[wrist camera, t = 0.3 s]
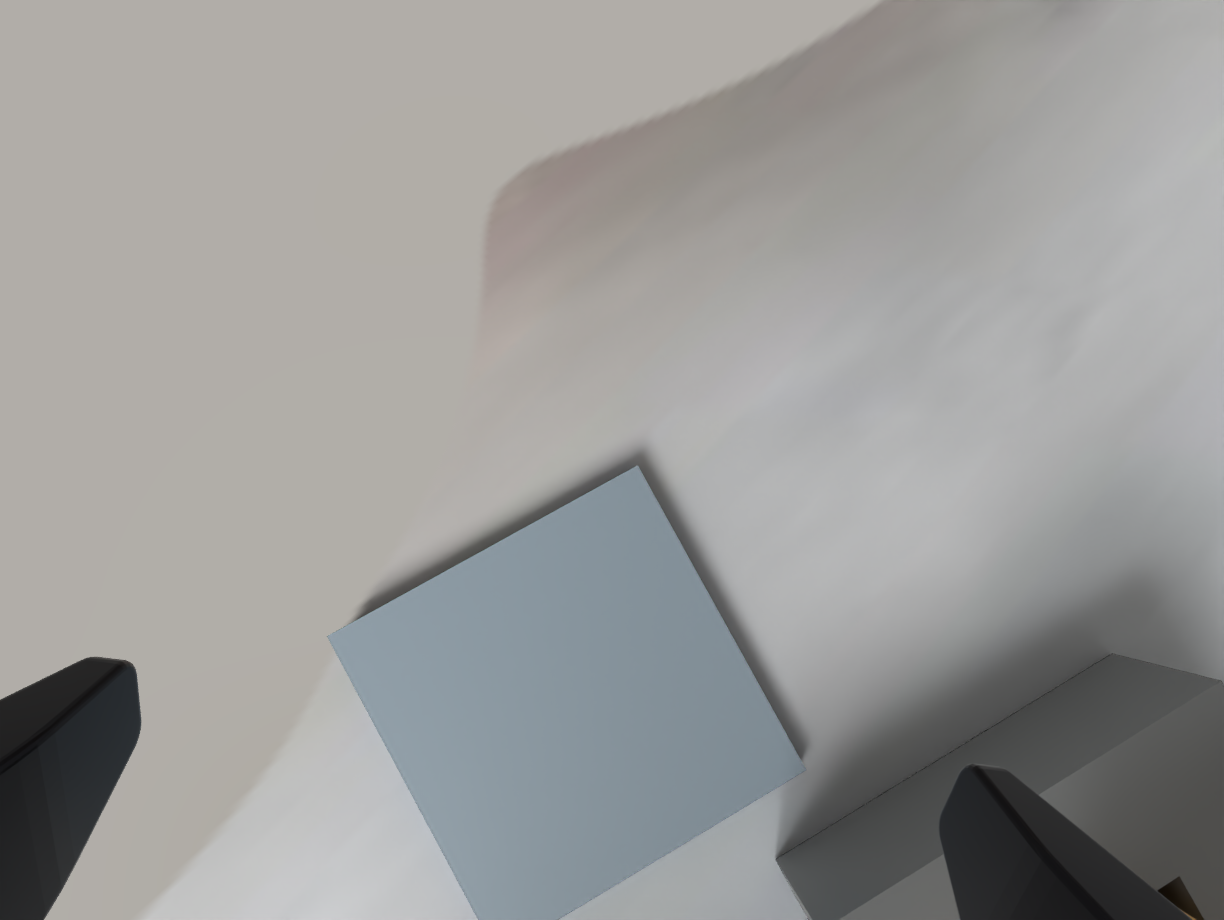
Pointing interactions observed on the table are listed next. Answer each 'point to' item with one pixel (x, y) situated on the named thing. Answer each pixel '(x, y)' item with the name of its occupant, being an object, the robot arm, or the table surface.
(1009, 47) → the table surface
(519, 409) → the table surface
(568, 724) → the pad
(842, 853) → the grey square hole base
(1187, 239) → the table surface
